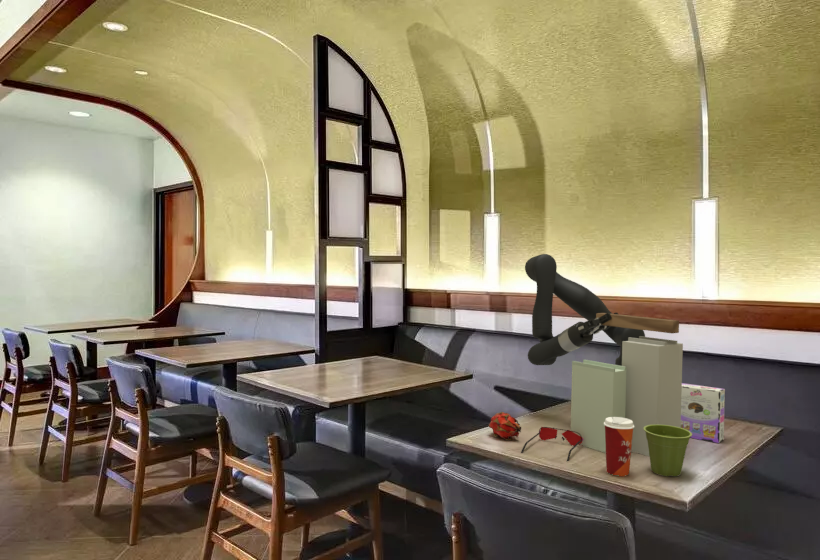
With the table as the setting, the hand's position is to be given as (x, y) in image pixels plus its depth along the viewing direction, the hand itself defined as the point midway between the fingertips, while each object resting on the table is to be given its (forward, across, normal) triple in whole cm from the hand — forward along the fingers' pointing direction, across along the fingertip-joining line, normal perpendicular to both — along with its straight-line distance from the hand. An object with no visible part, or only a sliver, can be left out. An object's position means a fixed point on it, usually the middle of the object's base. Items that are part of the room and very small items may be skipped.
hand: (614, 315), depth 186 cm
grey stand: (-7, 0, +40) cm, 41 cm away
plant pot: (+5, -14, +48) cm, 50 cm away
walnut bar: (+5, 0, +7) cm, 8 cm away
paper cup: (-2, -25, +44) cm, 51 cm away
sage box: (-17, -11, +35) cm, 41 cm away
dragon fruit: (-36, -28, +25) cm, 52 cm away
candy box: (-6, +25, +41) cm, 49 cm away
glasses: (-21, -25, +33) cm, 47 cm away
